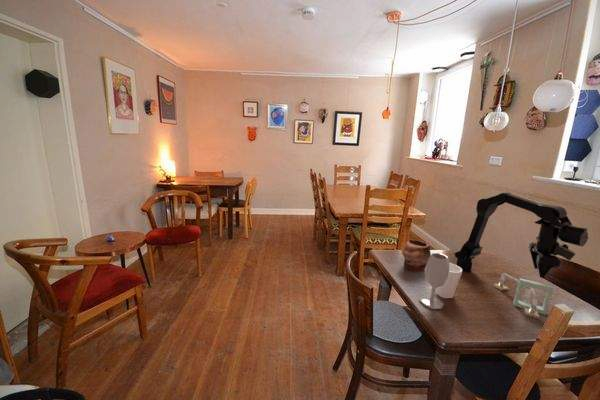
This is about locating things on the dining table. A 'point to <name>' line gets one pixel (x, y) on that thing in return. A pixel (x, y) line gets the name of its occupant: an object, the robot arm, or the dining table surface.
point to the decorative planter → (416, 255)
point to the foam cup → (450, 282)
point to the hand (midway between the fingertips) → (538, 272)
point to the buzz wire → (531, 311)
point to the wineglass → (435, 278)
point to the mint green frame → (537, 286)
